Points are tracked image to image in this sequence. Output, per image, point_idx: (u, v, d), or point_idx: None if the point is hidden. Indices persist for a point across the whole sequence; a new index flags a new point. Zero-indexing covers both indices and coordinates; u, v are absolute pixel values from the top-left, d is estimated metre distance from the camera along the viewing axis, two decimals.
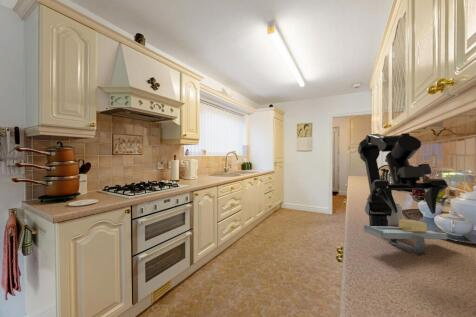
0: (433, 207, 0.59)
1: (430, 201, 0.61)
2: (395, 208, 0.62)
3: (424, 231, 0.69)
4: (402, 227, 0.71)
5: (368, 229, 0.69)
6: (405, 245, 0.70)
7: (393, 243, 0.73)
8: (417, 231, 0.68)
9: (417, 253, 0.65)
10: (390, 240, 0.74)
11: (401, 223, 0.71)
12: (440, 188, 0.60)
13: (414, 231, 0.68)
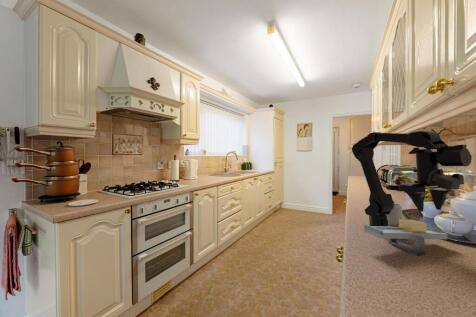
0: (441, 206, 0.72)
1: (439, 200, 0.72)
2: (422, 208, 0.70)
3: (424, 231, 0.69)
4: (402, 227, 0.71)
5: (368, 229, 0.69)
6: (405, 245, 0.70)
7: (393, 243, 0.73)
8: (417, 231, 0.68)
9: (417, 253, 0.65)
10: (390, 240, 0.74)
11: (401, 223, 0.71)
12: (452, 191, 0.70)
13: (414, 231, 0.68)
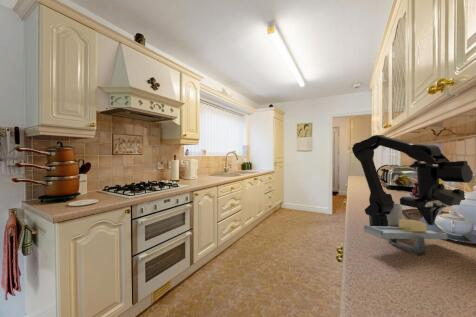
0: (433, 221, 0.71)
1: None
2: (431, 222, 0.71)
3: (424, 231, 0.69)
4: (402, 227, 0.71)
5: (368, 229, 0.69)
6: (405, 245, 0.70)
7: (393, 243, 0.73)
8: (417, 231, 0.68)
9: (417, 253, 0.65)
10: (390, 240, 0.74)
11: (401, 223, 0.71)
12: (444, 206, 0.70)
13: (414, 231, 0.68)
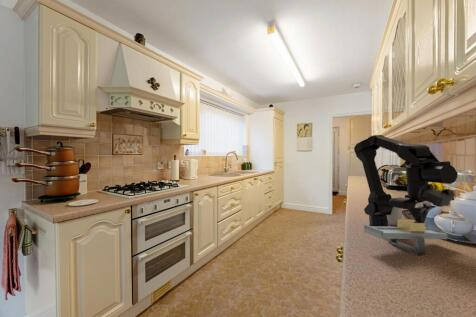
0: (423, 222, 0.70)
1: None
2: None
3: (423, 231, 0.68)
4: (401, 227, 0.71)
5: (368, 229, 0.69)
6: (405, 245, 0.70)
7: (393, 243, 0.73)
8: (416, 231, 0.68)
9: (417, 253, 0.65)
10: (390, 240, 0.74)
11: (400, 223, 0.71)
12: (434, 207, 0.69)
13: (413, 231, 0.68)
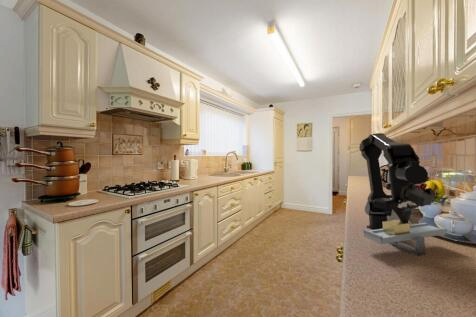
0: (407, 222, 0.69)
1: None
2: None
3: (408, 231, 0.67)
4: (386, 229, 0.69)
5: (368, 234, 0.69)
6: (405, 245, 0.70)
7: (393, 243, 0.73)
8: (401, 232, 0.67)
9: (417, 253, 0.65)
10: None
11: (385, 226, 0.70)
12: (417, 207, 0.68)
13: (397, 233, 0.67)
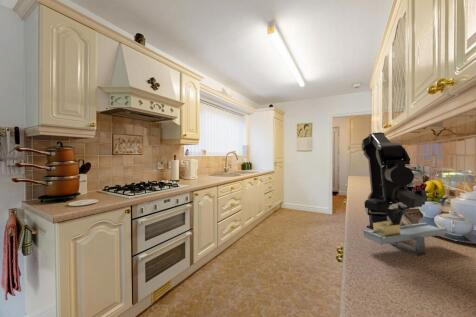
0: (398, 223, 0.68)
1: None
2: None
3: (398, 233, 0.67)
4: (376, 230, 0.69)
5: (368, 235, 0.69)
6: (405, 245, 0.70)
7: (393, 243, 0.73)
8: (391, 234, 0.66)
9: (417, 253, 0.65)
10: None
11: (375, 227, 0.69)
12: (408, 208, 0.67)
13: (388, 234, 0.66)
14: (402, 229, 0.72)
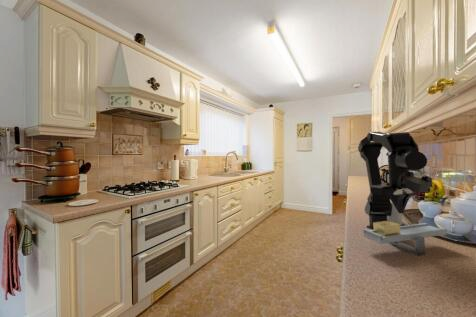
0: (403, 209, 0.70)
1: None
2: (401, 210, 0.70)
3: (398, 232, 0.67)
4: (376, 230, 0.69)
5: (368, 234, 0.69)
6: (405, 245, 0.70)
7: (393, 243, 0.73)
8: (391, 234, 0.66)
9: (417, 253, 0.65)
10: None
11: (375, 226, 0.69)
12: (414, 194, 0.69)
13: (388, 234, 0.66)
14: (402, 229, 0.72)
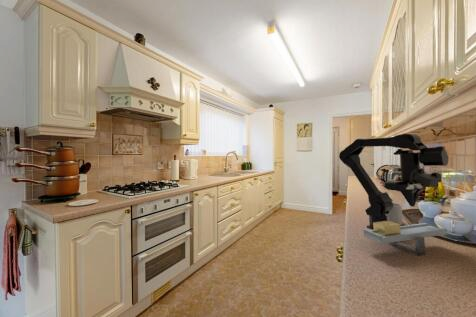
0: (414, 202, 0.78)
1: None
2: (413, 203, 0.78)
3: (398, 232, 0.67)
4: (376, 230, 0.69)
5: (368, 234, 0.69)
6: (405, 245, 0.70)
7: (393, 243, 0.73)
8: (391, 234, 0.66)
9: (417, 253, 0.65)
10: None
11: (375, 226, 0.69)
12: (424, 189, 0.77)
13: (388, 234, 0.66)
14: (402, 229, 0.72)
